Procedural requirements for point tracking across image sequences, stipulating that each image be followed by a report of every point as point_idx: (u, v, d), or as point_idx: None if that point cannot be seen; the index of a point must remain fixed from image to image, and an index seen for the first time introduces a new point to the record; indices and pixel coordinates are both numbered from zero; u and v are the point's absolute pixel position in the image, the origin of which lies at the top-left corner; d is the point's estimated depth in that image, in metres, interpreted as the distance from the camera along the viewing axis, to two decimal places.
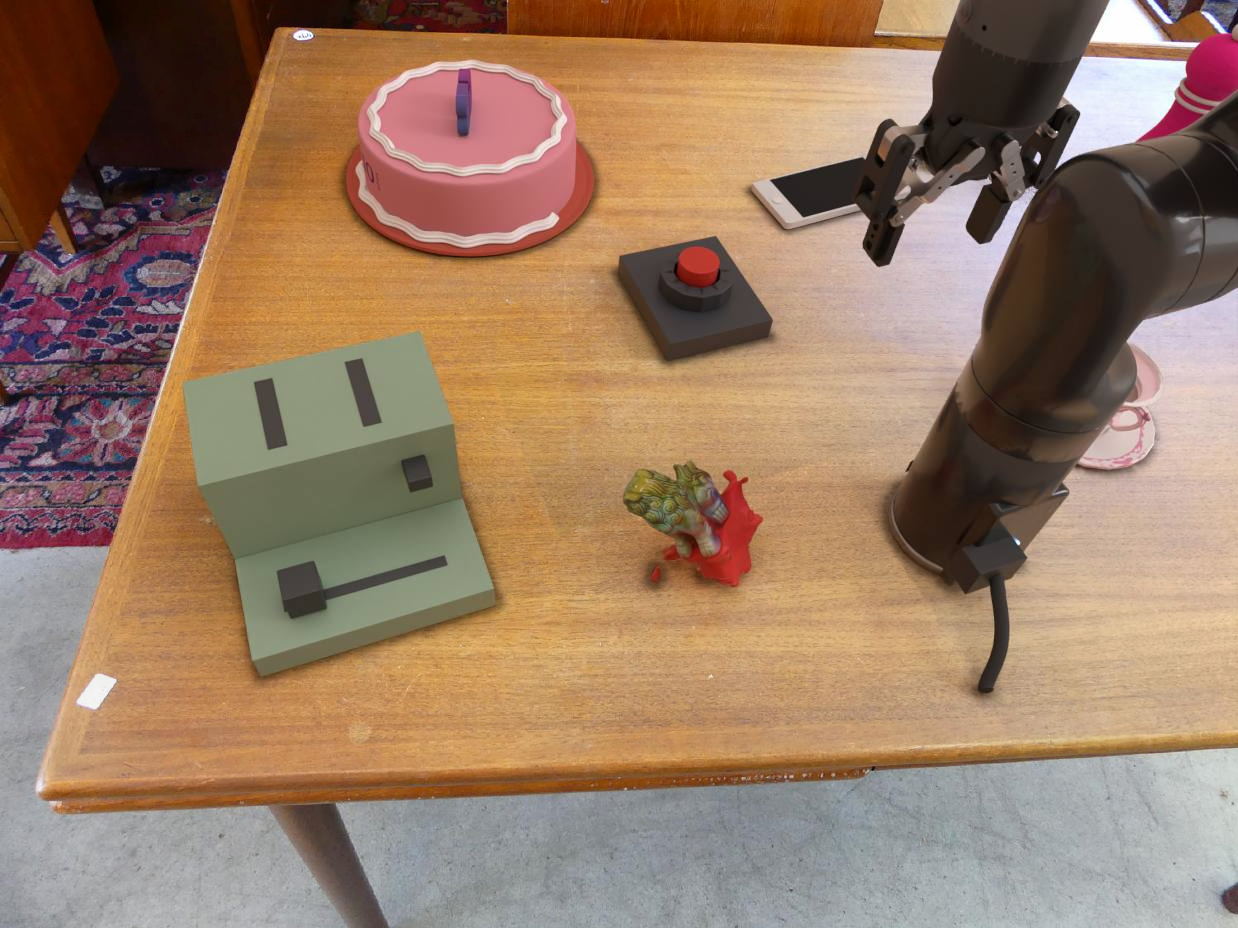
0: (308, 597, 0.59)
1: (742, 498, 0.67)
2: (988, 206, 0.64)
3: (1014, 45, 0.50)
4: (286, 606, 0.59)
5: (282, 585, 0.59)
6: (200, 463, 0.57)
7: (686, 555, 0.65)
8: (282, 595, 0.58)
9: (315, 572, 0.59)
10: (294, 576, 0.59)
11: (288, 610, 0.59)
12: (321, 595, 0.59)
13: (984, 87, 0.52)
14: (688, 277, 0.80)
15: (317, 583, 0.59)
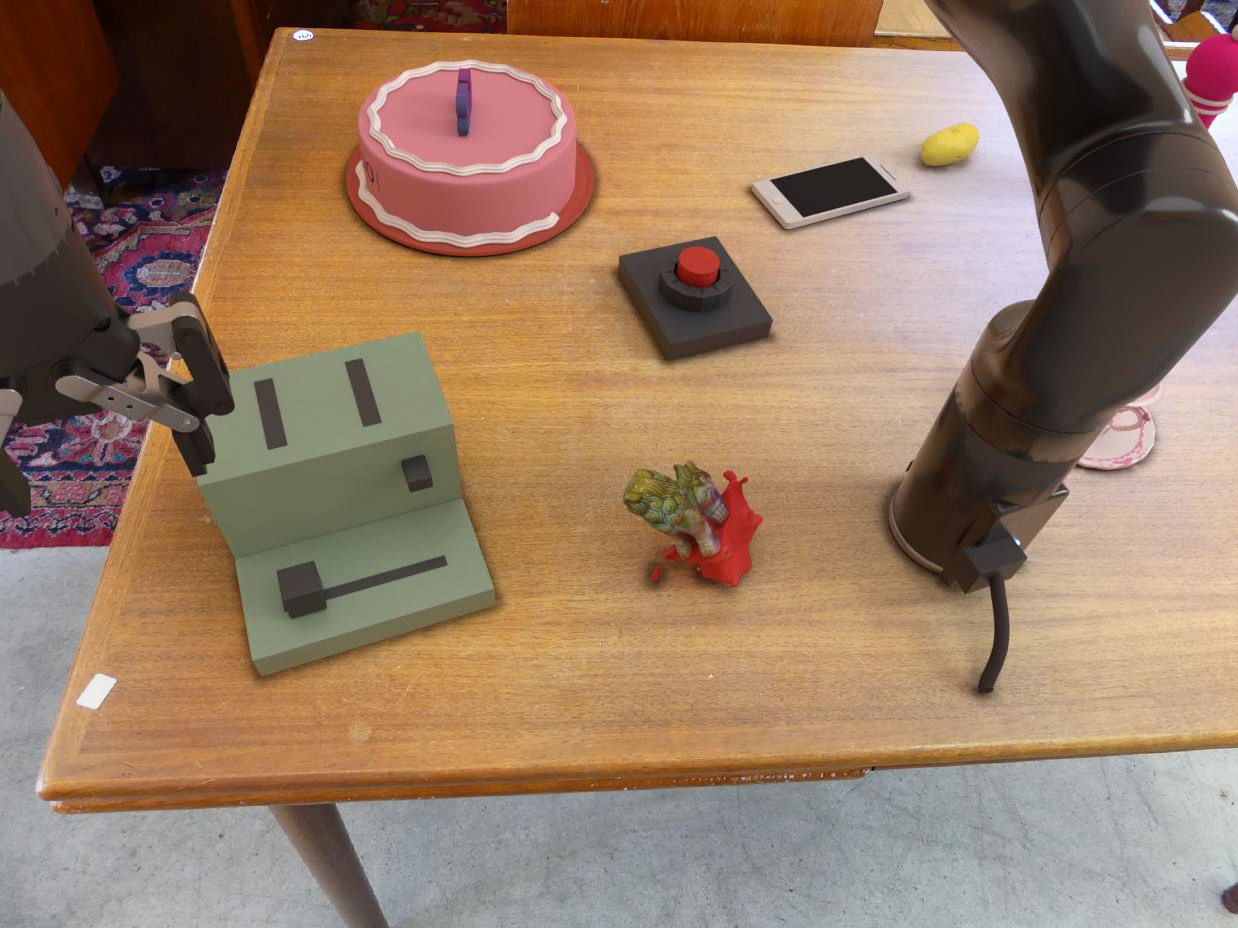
0: (308, 597, 0.59)
1: (742, 498, 0.67)
2: None
3: None
4: (286, 606, 0.59)
5: (282, 585, 0.59)
6: None
7: (686, 555, 0.65)
8: (282, 595, 0.58)
9: (315, 572, 0.59)
10: (294, 576, 0.59)
11: (288, 610, 0.59)
12: (321, 595, 0.59)
13: None
14: (688, 277, 0.80)
15: (317, 583, 0.59)
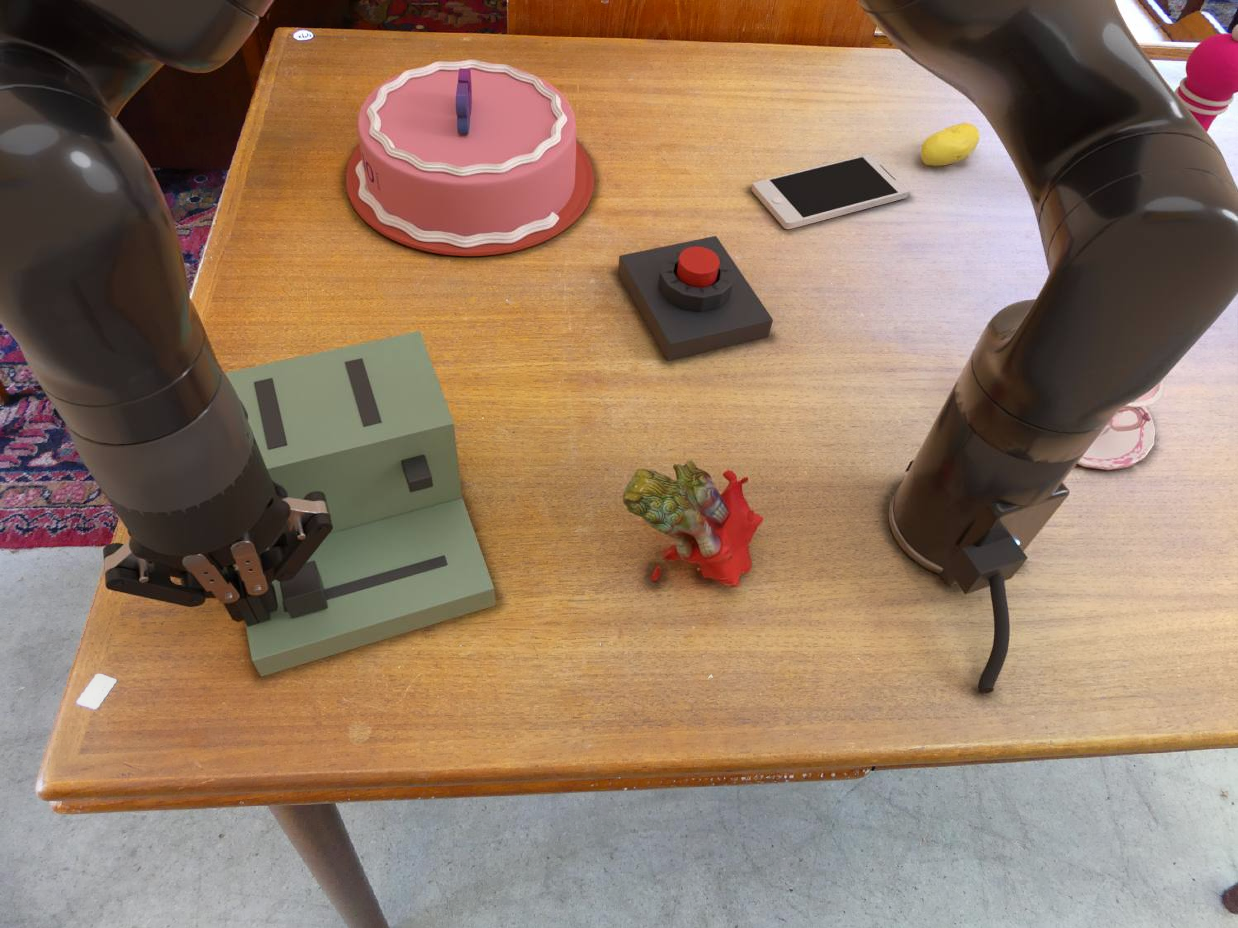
0: (308, 597, 0.59)
1: (742, 498, 0.67)
2: None
3: (115, 497, 0.44)
4: (287, 606, 0.59)
5: (283, 585, 0.59)
6: None
7: (686, 555, 0.65)
8: (283, 595, 0.58)
9: (316, 572, 0.59)
10: None
11: (289, 610, 0.59)
12: (322, 595, 0.59)
13: (126, 522, 0.46)
14: (688, 277, 0.80)
15: (318, 583, 0.59)
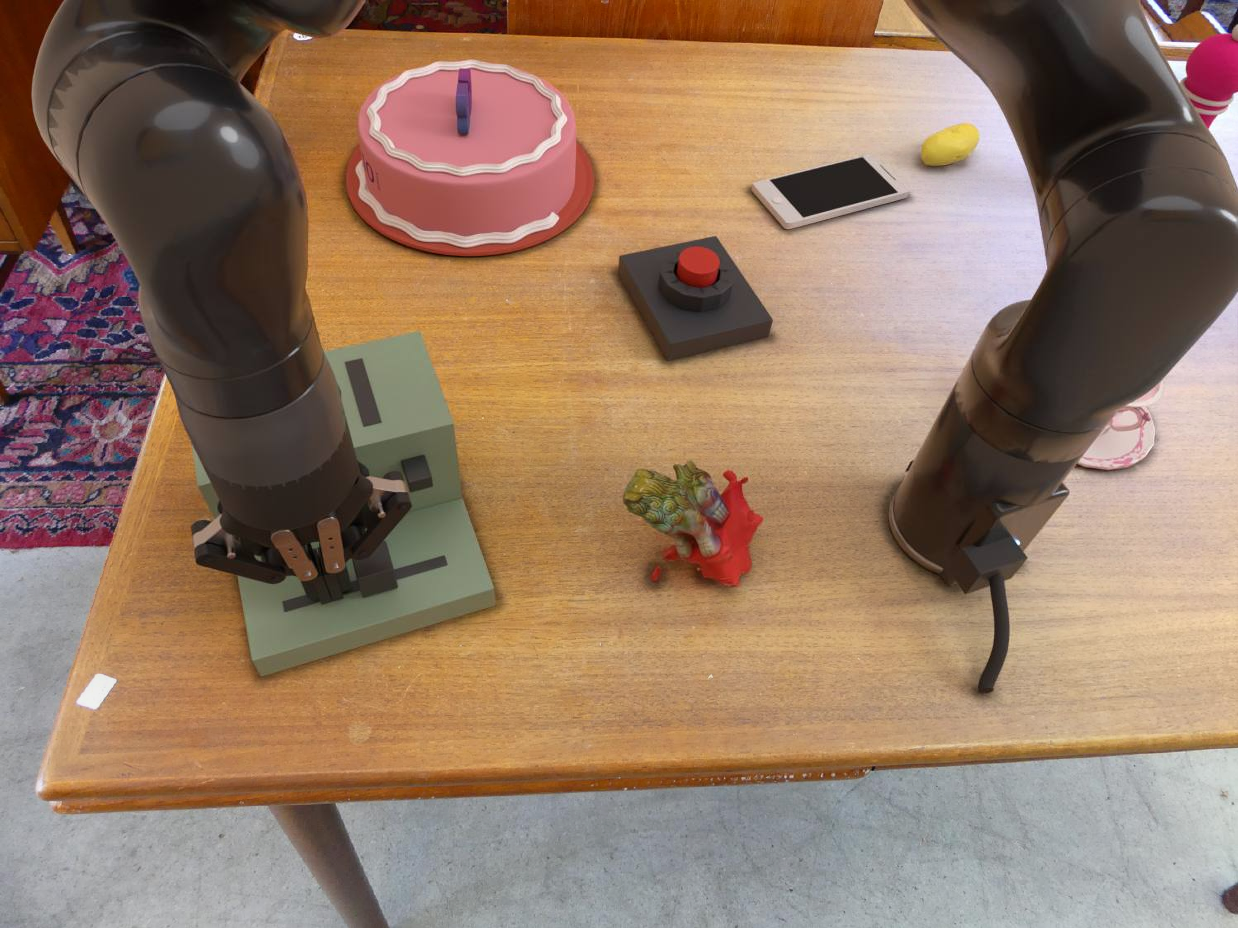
0: (381, 576, 0.60)
1: (742, 498, 0.67)
2: None
3: (219, 471, 0.45)
4: (360, 585, 0.60)
5: (356, 564, 0.60)
6: (200, 463, 0.57)
7: (686, 555, 0.65)
8: (357, 574, 0.59)
9: (387, 552, 0.61)
10: None
11: (362, 589, 0.60)
12: (394, 574, 0.60)
13: (224, 497, 0.47)
14: (688, 277, 0.80)
15: (390, 563, 0.60)
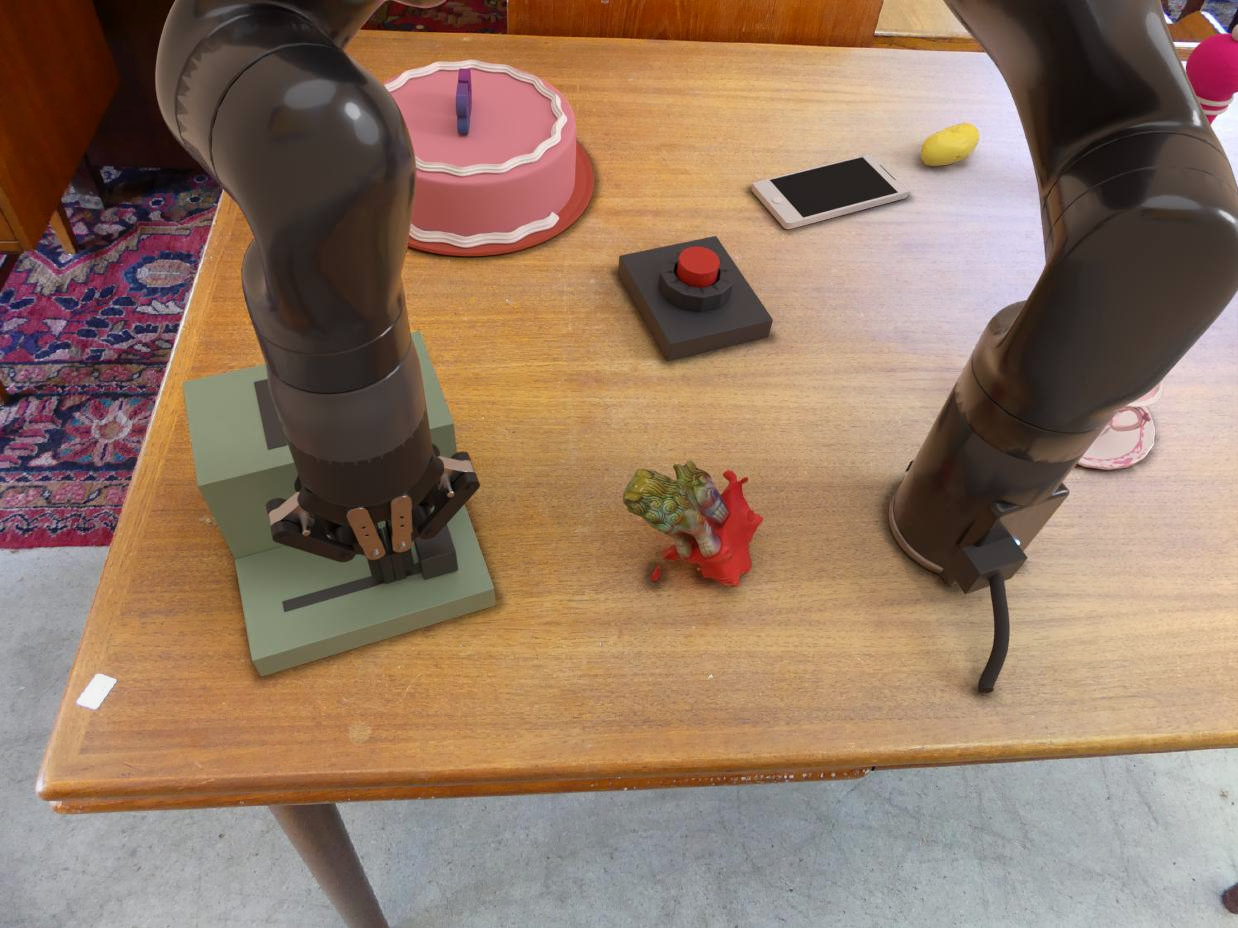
0: (443, 558, 0.61)
1: (742, 498, 0.67)
2: (388, 549, 0.60)
3: (307, 447, 0.46)
4: (423, 567, 0.61)
5: (419, 547, 0.61)
6: (200, 463, 0.57)
7: (686, 555, 0.65)
8: (420, 556, 0.61)
9: (449, 535, 0.62)
10: None
11: (424, 571, 0.61)
12: (455, 557, 0.62)
13: (308, 473, 0.48)
14: (688, 277, 0.80)
15: (453, 545, 0.61)
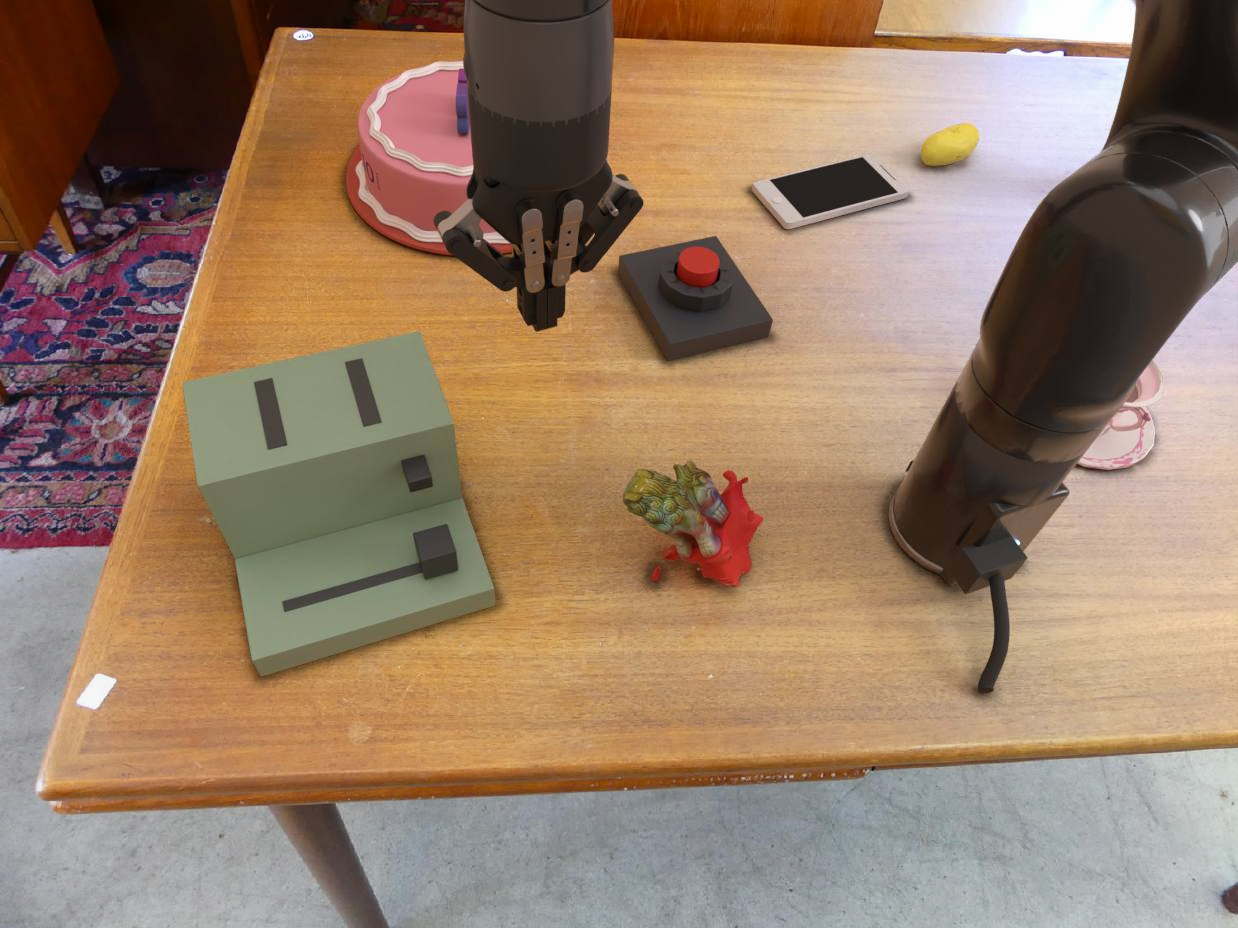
0: (444, 558, 0.61)
1: (742, 498, 0.67)
2: None
3: (506, 104, 0.45)
4: (423, 567, 0.61)
5: (419, 546, 0.61)
6: (200, 463, 0.57)
7: (686, 555, 0.65)
8: (420, 556, 0.61)
9: (449, 534, 0.62)
10: (430, 538, 0.61)
11: (424, 571, 0.61)
12: (456, 556, 0.62)
13: (497, 149, 0.47)
14: (688, 277, 0.80)
15: (453, 545, 0.61)
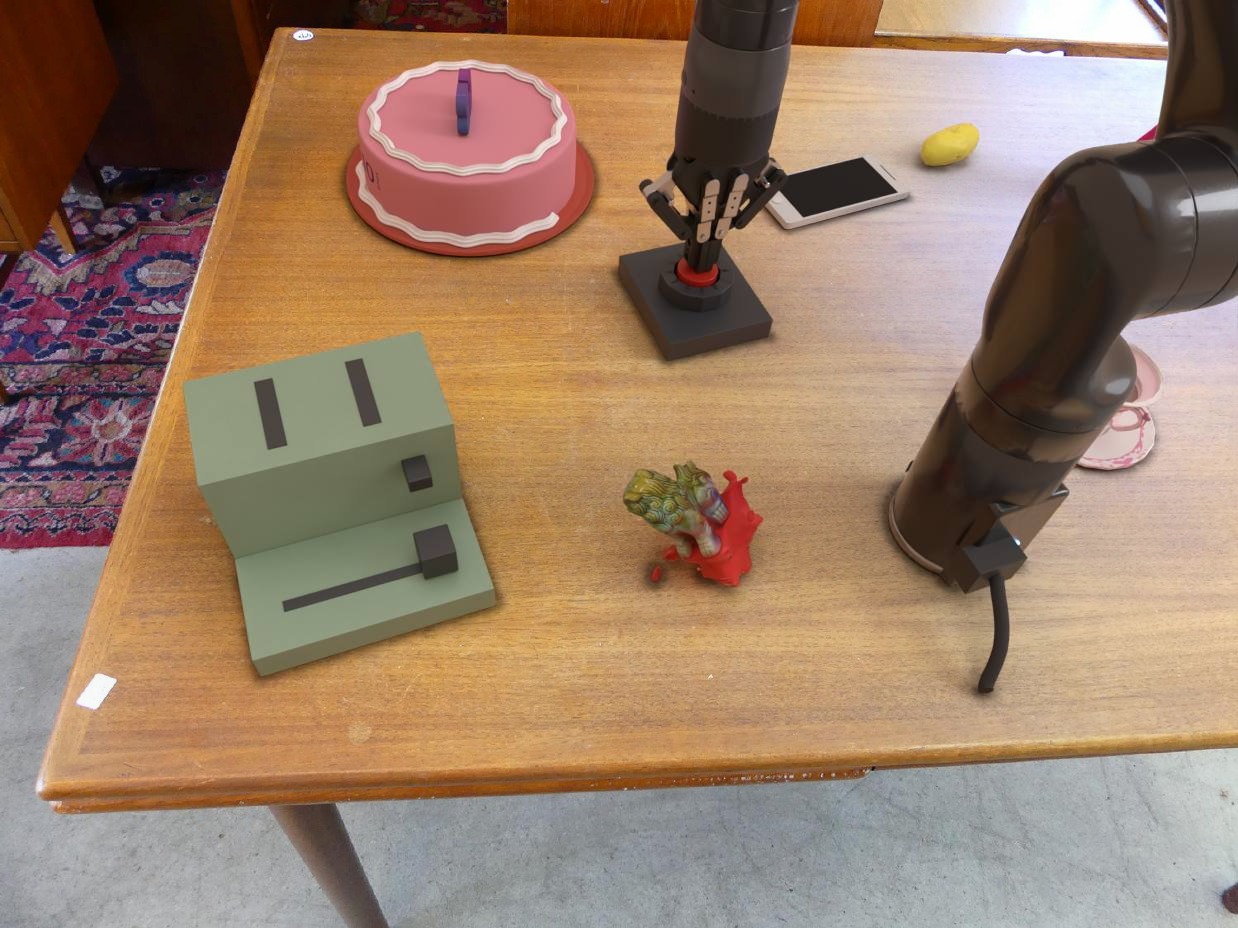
0: (444, 558, 0.61)
1: (742, 498, 0.67)
2: None
3: (714, 105, 0.65)
4: (423, 567, 0.61)
5: (419, 546, 0.61)
6: (200, 463, 0.57)
7: (686, 555, 0.65)
8: (420, 556, 0.61)
9: (449, 534, 0.62)
10: (430, 538, 0.61)
11: (424, 571, 0.61)
12: (456, 556, 0.62)
13: (701, 135, 0.67)
14: None
15: (453, 545, 0.61)
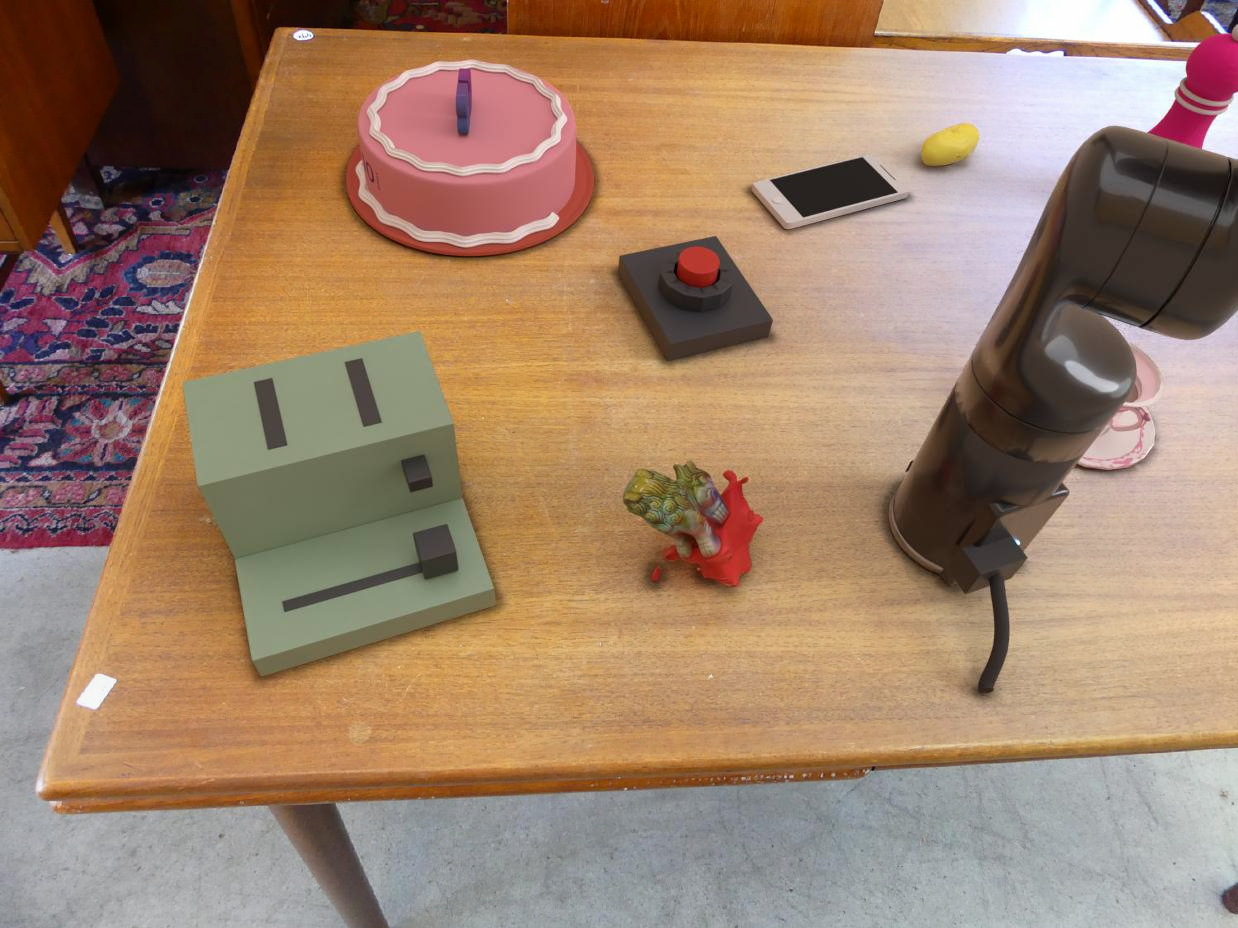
0: (444, 558, 0.61)
1: (742, 498, 0.67)
2: None
3: None
4: (423, 567, 0.61)
5: (419, 546, 0.61)
6: (200, 463, 0.57)
7: (686, 555, 0.65)
8: (420, 556, 0.61)
9: (449, 534, 0.62)
10: (430, 538, 0.61)
11: (424, 571, 0.61)
12: (456, 556, 0.62)
13: None
14: (688, 277, 0.80)
15: (453, 545, 0.61)
